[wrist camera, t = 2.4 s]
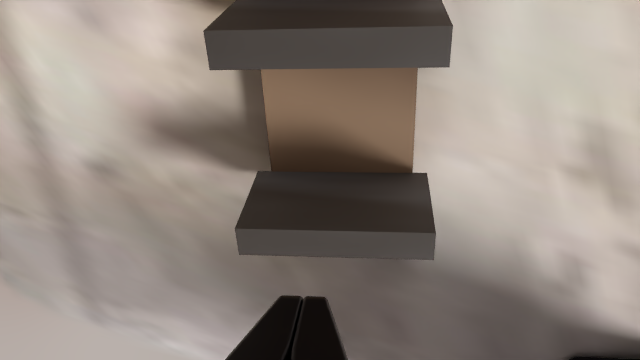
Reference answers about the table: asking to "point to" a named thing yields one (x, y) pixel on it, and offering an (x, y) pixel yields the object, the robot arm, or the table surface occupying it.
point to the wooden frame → (336, 123)
